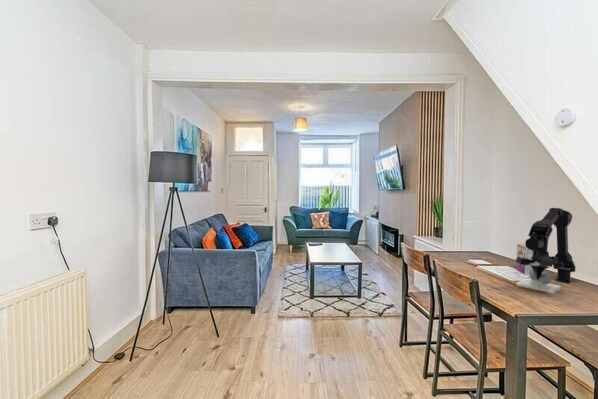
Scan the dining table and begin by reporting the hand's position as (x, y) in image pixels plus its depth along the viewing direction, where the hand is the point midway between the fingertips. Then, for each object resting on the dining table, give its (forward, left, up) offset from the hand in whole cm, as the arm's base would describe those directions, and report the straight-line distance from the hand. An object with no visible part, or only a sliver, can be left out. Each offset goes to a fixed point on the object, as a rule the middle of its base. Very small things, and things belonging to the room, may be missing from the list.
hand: (537, 279), depth 167 cm
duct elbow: (-6, 0, -2) cm, 6 cm away
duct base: (-9, -2, -6) cm, 11 cm away
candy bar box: (-36, -17, -6) cm, 40 cm away
